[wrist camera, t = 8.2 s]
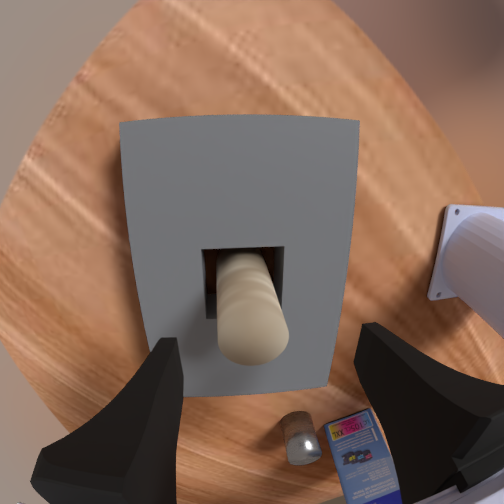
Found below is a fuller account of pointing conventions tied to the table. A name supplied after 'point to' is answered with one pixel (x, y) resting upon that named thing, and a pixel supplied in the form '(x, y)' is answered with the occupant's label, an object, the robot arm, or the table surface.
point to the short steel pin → (300, 438)
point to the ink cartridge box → (363, 460)
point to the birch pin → (248, 308)
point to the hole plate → (241, 234)
